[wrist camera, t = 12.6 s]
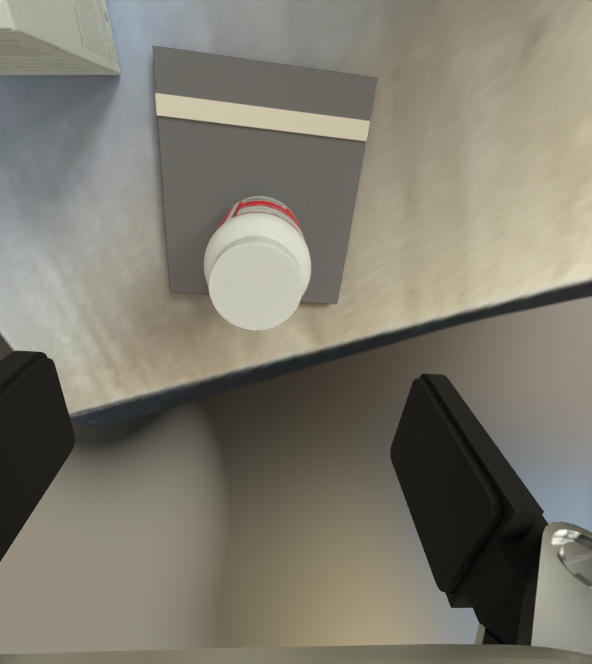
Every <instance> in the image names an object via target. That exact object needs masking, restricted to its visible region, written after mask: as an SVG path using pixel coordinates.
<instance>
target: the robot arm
mask: <svg viewBox="0 0 592 664" xmlns="http://www.w3.org/2000/svg"><path fill="white" fill-rule="evenodd" d="M74 443H75V436H74V432H73V428H72V425H71V421H70V417H69V414H68V410H67V407H66V403H65V400H64V396H63V392H62V389H61V385H60V382H59V378H58V375H57V371H56V367H55V364H54V362H53V360H52V359H50V358H47V356H46V355H45V354H44V353H42V352H32V351H13V352H12V353H10V354H9V355H8V356H6V357H5V358H4V359H3V360H1V361H0V561H1V559H2V558H3V557H4V555H5V554H6V552H7V550H8V549H9V547H10V545H11V544H12V543H13V541H14V539H15V538H16V536H17V535H18V533H19V532H20V530H21V529H22V527H23V526H24V524H25V522H26V521H27V520H28V518H29V516H30V515H31V513H32V512H33V510H34V509H35V507H36V505H37V504H38V503H39V501H40V499H41V498H42V496H43V495H44V493H45V491H46V490H47V489H48V487H49V485H50V484H51V482H52V481H53V479H54V478H55V476H56V475H57V473H58V472H59V470H60V468H61V467H62V465H63V464H64V462H65V461H66V459H67V458H68V456H69V454H70V453H71V451H72V449H73V447H74ZM390 453H391V460H392V463H393V466H394V469H395V472H396V474H397V477H398V480H399V483H400V485H401V488H402V491H403V494H404V496H405V499H406V502H407V505H408V507H409V510H410V513H411V516H412V518H413V521H414V524H415V527H416V530H417V532H418V535H419V538H420V541H421V543H422V546H423V549H424V552H425V554H426V557H427V560H428V563H429V565H430V568H431V571H432V574H433V576H434V579H435V582H436V584H437V586H438V588H439V589H440V590H441V591H442V592H445V593H446V595H447V598H448V601H449V603H450V606H451V608H473V609H474V612H475V614H476V616H477V619H478V621H479V626H478V631H477V635H476V640H475V644H474V645H473V644H468V645H467V644H466V645H465V644H464V645H461V644H460V645H459V644H457V645H456V644H455V645H454V644H441V645H440V644H416V645H363V646H313V647H312V646H311V647H265V648H222V649H183V650H182V649H180V650H141V651H102V652H68V653H34V654H2V655H1V654H0V664H592V533H591V532H589V531H588V530H586V529H583V528H581V527H579V526H576V525H574V524H570V523H565V522H552V523H551V524H548V523H547V522H546V520H545V519H544V517H543V516H542V514H543V512H544V511H543V510H542V508H541V507H540V506H539V504H538V503H537V502H536V500H535V499H534V497H533V496H532V495H531V493H530V492H529V490H528V489H527V488H526V486H525V485H524V484H523V482H522V481H521V479H520V478H519V477H518V475H517V474H516V472H515V471H514V470H513V468H512V467H511V466H510V464H509V463H508V461H507V460H506V459H505V458H504V456H503V455H502V453H501V452H500V450H499V449H498V447H497V446H496V445H495V443H494V442H493V440H492V439H491V438H490V436H489V435H488V433H487V432H486V431H485V429H484V428H483V427H482V425H481V424H480V423H479V421H478V420H477V418H476V417H475V415H474V414H473V413H472V412H471V410H470V408H469V407H468V406H467V404H466V403H465V402H464V400H463V399H462V398H461V396H460V395H459V393H458V392H457V391H456V389H455V388H454V386H453V385H452V384H451V382H450V381H449V379H448V378H447V377H446V376H445V375H439V374H422V375H421V376H420V377H419V379H415V380H414V381H413V383H412V386H411V389H410V392H409V395H408V398H407V401H406V404H405V407H404V410H403V413H402V416H401V419H400V422H399V425H398V428H397V431H396V434H395V437H394V440H393V443H392V446H391V451H390Z"/></svg>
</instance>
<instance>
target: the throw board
mask: <svg viewBox="0 0 592 664" xmlns="http://www.w3.org/2000/svg"><path fill="white" fill-rule="evenodd" d="M153 58H154V72H155V86H156V93H155V98H156V112H157V115H158V128H159V142H160V156H161V170H162V184H163V198H164V212H165V226H166V240H167V254H168V269H169V283H170V292H176V293H190V294H203V295H209V288H208V284H207V281H206V278H205V273H204V256H205V252H206V248H207V246H208V243H209V241H210V239H211V237H212V235H213V234H214V232H215V231H216V229H217V228H218V226H219V224H220V223H221V221H222V219H223V218H224V216H225V215H226V213H227V212H228V211H229V209H230V208H231V207H232V206H233V205H235V204H236V203H237V202H239V201H241V200H243V199H245V198H248V197H252V196H266V197H271V198H274V199H276V200H278V201H280V202H282V203H283V204H284V205H286V206H287V207H288V208H289V209H290V210H291V211H292V213H293V214H294V216H295V217H296V219H297V221H298V223H299V226H300V228H301V231H302V233H303V236H304V239H305V242H306V244H307V246H308V250H309V254H310V259H311V276H310V281H309V284H308V286H307V289H306V291H305V293H304V294H303V296H302V297H301V300H300V302H313V303H327V304H337V302H338V296H339V291H340V285H341V280H342V274H343V268H344V263H345V257H346V251H347V246H348V240H349V234H350V229H351V223H352V217H353V212H354V206H355V200H356V195H357V189H358V183H359V178H360V172H361V166H362V161H363V155H364V149H365V144H366V141H367V136H368V131H369V125H370V115H371V110H372V104H373V98H374V93H375V87H376V81H377V78H374V77H367V76H360V75H353V74H346V73H339V72H332V71H325V70H318V69H311V68H304V67H298V66H291V65H284V64H277V63H270V62H263V61H256V60H249V59H242V58H235V57H228V56H221V55H215V54H208V53H201V52H194V51H187V50H180V49H173V48H166V47H159V46H153Z"/></svg>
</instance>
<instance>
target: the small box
mask: <svg viewBox="0 0 592 664" xmlns="http://www.w3.org/2000/svg"><path fill="white" fill-rule="evenodd" d="M120 74H121V73H120V68H119V64H118V59H117V54H116V49H115V44H114V39H113V34H112V29H111V24H110V19H109V14H108V9H107V4H106V0H0V76H3V75H120Z"/></svg>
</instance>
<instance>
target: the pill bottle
mask: <svg viewBox="0 0 592 664" xmlns="http://www.w3.org/2000/svg"><path fill="white" fill-rule="evenodd" d="M204 273H205V278H206V281H207V284H208V288H209V295H210V298H211V301H212V303H213V305H214V307H215V309H216V310H217V311H218V313H219V314H220V315H221V316H222V317H223V318H224V319H225V320H226V321H228V322H229V323H231V324H233V325H235V326H237V327H239V328H242V329H246V330H254V331H259V330H267V329H271V328H274V327H276V326H278V325H280V324H282V323H283V322H285V321H286V320H287V319H288V318H290V317H291V315H292V314H293V313H294V312H295V310H296V309H297V307H298V305H299V303H300V300H301V297H302V296H303V294H304V293H305V291H306V289H307V286H308V284H309V281H310V276H311V259H310V254H309V250H308V246H307V244H306V242H305V239H304V236H303V233H302V231H301V228H300V226H299V223H298V221H297V219H296V217H295V216H294V214H293V213H292V211H291V210H290V209H289V208H288V207H287V206H286V205H284V204H283V203H282V202H280V201H278V200H276V199H274V198H271V197H266V196H252V197H248V198H245V199H243V200H241V201H239V202H237V203H236V204H235V205H233V206H232V207H231V208H230V209H229V211H228V212H227V213H226V215H225V216H224V218H223V219H222V221H221V223H220V224H219V226H218V228H217V229H216V231H215V232H214V234H213V235H212V237H211V239H210V241H209V243H208V246H207V248H206V252H205V256H204Z"/></svg>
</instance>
